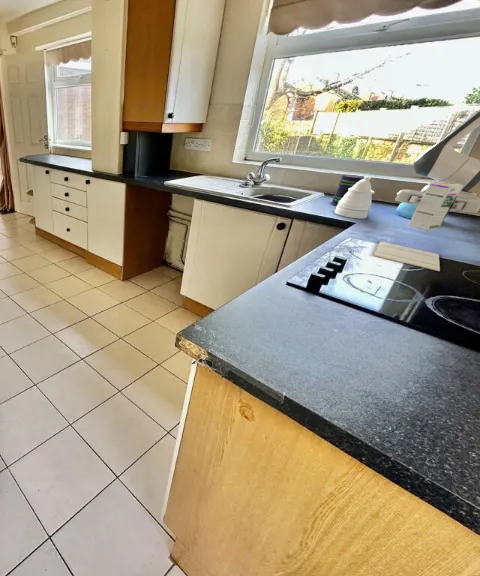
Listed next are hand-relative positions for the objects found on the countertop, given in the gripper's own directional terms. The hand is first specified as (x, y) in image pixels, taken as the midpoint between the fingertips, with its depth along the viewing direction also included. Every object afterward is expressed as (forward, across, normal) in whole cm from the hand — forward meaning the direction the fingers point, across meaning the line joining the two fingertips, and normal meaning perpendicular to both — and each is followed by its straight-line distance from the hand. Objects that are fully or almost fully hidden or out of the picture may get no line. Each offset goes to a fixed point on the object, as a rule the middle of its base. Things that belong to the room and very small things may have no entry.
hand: (436, 204), depth 101 cm
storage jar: (-70, -31, +17) cm, 79 cm away
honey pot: (-47, -24, +17) cm, 56 cm away
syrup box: (-1, 0, +8) cm, 8 cm away
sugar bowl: (-71, -1, +17) cm, 73 cm away
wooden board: (+4, 0, +17) cm, 17 cm away
